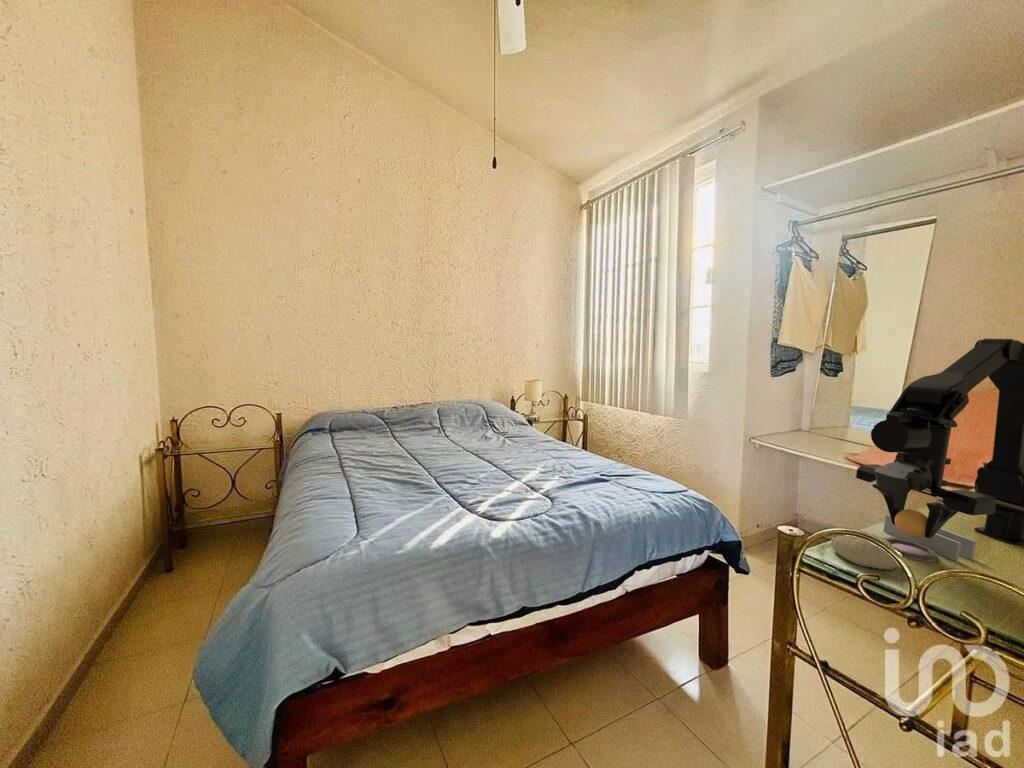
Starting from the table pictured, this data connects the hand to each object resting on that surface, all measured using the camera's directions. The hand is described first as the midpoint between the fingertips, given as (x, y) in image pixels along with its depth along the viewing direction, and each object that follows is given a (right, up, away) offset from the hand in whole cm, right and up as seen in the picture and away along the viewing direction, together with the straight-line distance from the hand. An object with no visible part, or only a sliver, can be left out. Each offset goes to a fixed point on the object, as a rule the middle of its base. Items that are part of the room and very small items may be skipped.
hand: (911, 530), depth 79 cm
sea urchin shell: (-12, -4, -4) cm, 13 cm away
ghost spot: (0, -4, 0) cm, 4 cm away
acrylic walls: (+6, -4, +4) cm, 8 cm away
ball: (0, +1, 0) cm, 2 cm away
